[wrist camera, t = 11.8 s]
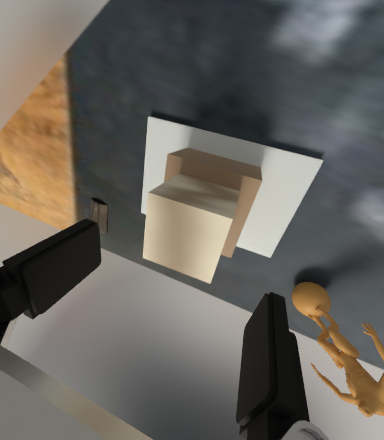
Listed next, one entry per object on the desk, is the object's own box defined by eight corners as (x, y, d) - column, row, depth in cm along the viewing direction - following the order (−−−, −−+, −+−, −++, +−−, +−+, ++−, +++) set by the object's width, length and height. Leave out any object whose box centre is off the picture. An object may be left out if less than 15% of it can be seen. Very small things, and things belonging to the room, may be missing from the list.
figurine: (309, 258, 22) (352, 368, 12) (361, 278, 22) (455, 414, 11) (276, 300, 27) (288, 408, 16) (319, 318, 26) (360, 444, 16)
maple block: (240, 190, 15) (232, 219, 11) (222, 243, 18) (210, 283, 13) (179, 173, 16) (147, 192, 12) (170, 225, 19) (142, 257, 14)
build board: (320, 159, 18) (347, 173, 13) (269, 254, 24) (273, 290, 18) (151, 116, 21) (115, 113, 16) (144, 210, 27) (116, 231, 21)
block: (113, 201, 30) (107, 205, 28) (110, 233, 32) (104, 238, 31) (92, 194, 30) (84, 198, 28) (91, 226, 32) (83, 231, 31)
